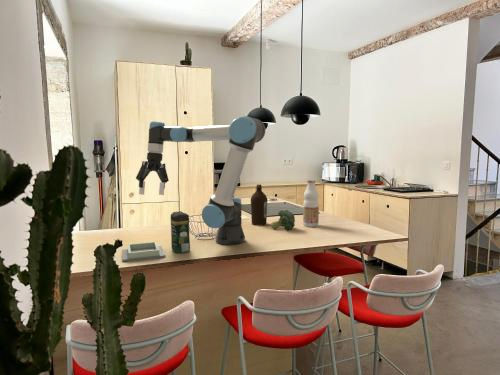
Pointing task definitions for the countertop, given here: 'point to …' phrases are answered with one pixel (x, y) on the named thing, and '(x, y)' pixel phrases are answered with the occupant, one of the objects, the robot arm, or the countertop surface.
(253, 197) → the olive oil
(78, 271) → the countertop surface
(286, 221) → the vegetable
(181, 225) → the coffee jar
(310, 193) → the fruit juice
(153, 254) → the jar dock
